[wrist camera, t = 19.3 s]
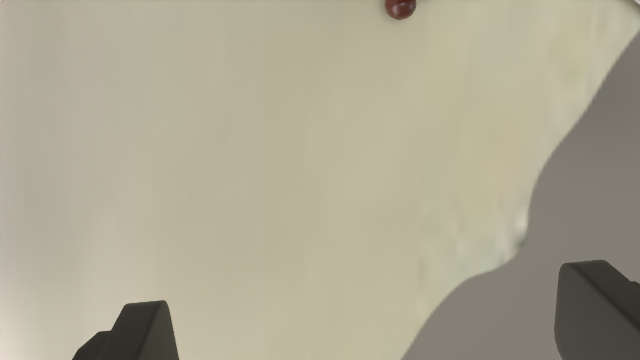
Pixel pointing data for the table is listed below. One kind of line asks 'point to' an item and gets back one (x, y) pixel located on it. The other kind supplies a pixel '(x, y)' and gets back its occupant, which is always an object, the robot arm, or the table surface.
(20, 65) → the table surface
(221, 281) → the table surface
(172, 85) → the table surface
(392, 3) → the shoe brush
